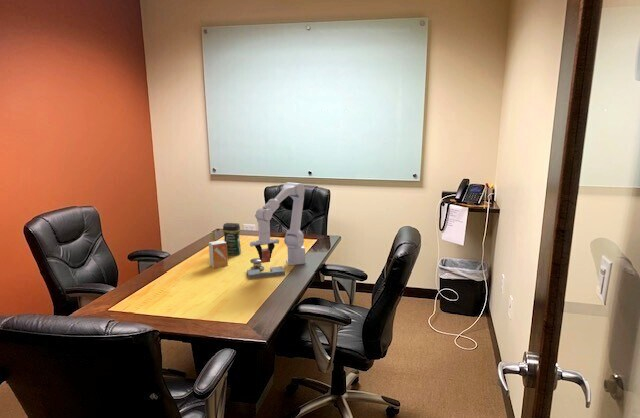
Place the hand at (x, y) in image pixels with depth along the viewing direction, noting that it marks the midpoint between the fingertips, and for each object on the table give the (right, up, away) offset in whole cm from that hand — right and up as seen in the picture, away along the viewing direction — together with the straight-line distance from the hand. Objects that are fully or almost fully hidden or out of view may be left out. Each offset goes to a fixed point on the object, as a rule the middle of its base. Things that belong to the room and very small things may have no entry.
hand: (265, 258), depth 215 cm
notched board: (0, -8, +1) cm, 8 cm away
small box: (-27, -6, +15) cm, 32 cm away
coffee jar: (-24, -2, +36) cm, 43 cm away
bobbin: (-5, -7, +9) cm, 12 cm away
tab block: (0, -1, 0) cm, 2 cm away
